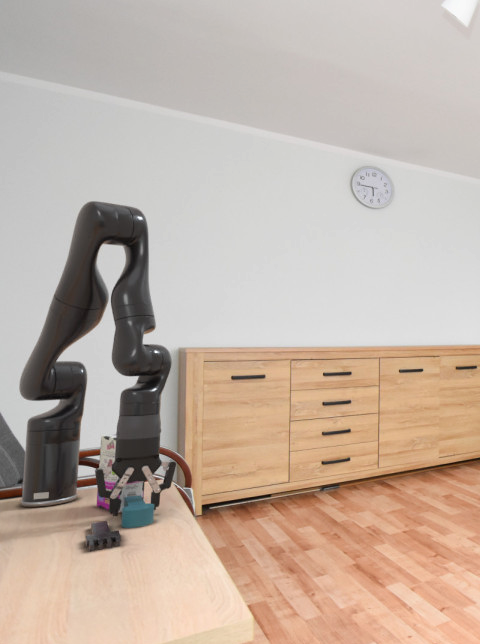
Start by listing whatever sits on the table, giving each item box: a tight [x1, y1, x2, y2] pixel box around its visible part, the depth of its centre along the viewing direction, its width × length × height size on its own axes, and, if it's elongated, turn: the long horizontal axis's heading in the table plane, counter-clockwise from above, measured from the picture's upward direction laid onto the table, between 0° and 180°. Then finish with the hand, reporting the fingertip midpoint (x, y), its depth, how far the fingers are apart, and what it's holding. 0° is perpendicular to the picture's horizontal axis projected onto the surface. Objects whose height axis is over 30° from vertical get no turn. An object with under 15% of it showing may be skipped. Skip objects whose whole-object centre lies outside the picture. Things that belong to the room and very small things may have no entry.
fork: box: [84, 520, 121, 552], centre depth 109 cm, size 16×5×1 cm, turn 45°
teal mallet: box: [120, 495, 155, 529], centre depth 120 cm, size 14×5×4 cm, turn 45°
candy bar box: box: [96, 433, 146, 514], centre depth 129 cm, size 11×5×16 cm, turn 62°
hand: (134, 512), depth 122 cm, fingers open, 5 cm apart
